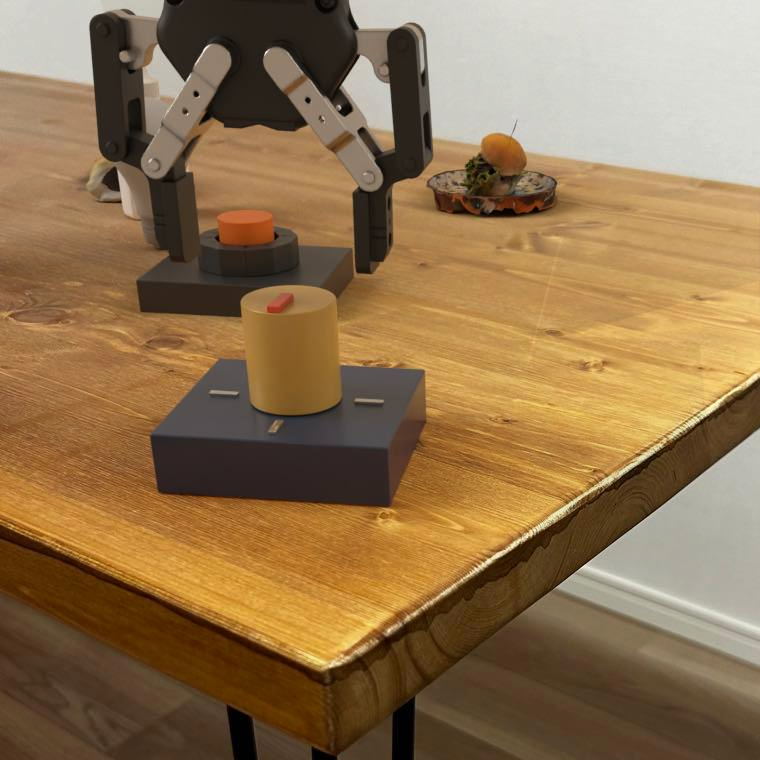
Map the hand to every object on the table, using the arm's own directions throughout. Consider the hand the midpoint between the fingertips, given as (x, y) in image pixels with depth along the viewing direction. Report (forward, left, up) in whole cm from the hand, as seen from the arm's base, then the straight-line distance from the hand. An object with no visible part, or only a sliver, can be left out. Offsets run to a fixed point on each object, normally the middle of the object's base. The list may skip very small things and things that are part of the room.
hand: (276, 264), depth 55 cm
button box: (-10, +25, -10) cm, 29 cm away
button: (-10, +25, -6) cm, 28 cm away
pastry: (-29, +52, -10) cm, 60 cm away
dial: (0, 0, -7) cm, 7 cm away
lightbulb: (-20, +35, -10) cm, 42 cm away
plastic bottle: (-24, +45, -10) cm, 52 cm away
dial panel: (0, 0, -10) cm, 10 cm away
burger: (+3, +55, -10) cm, 56 cm away
